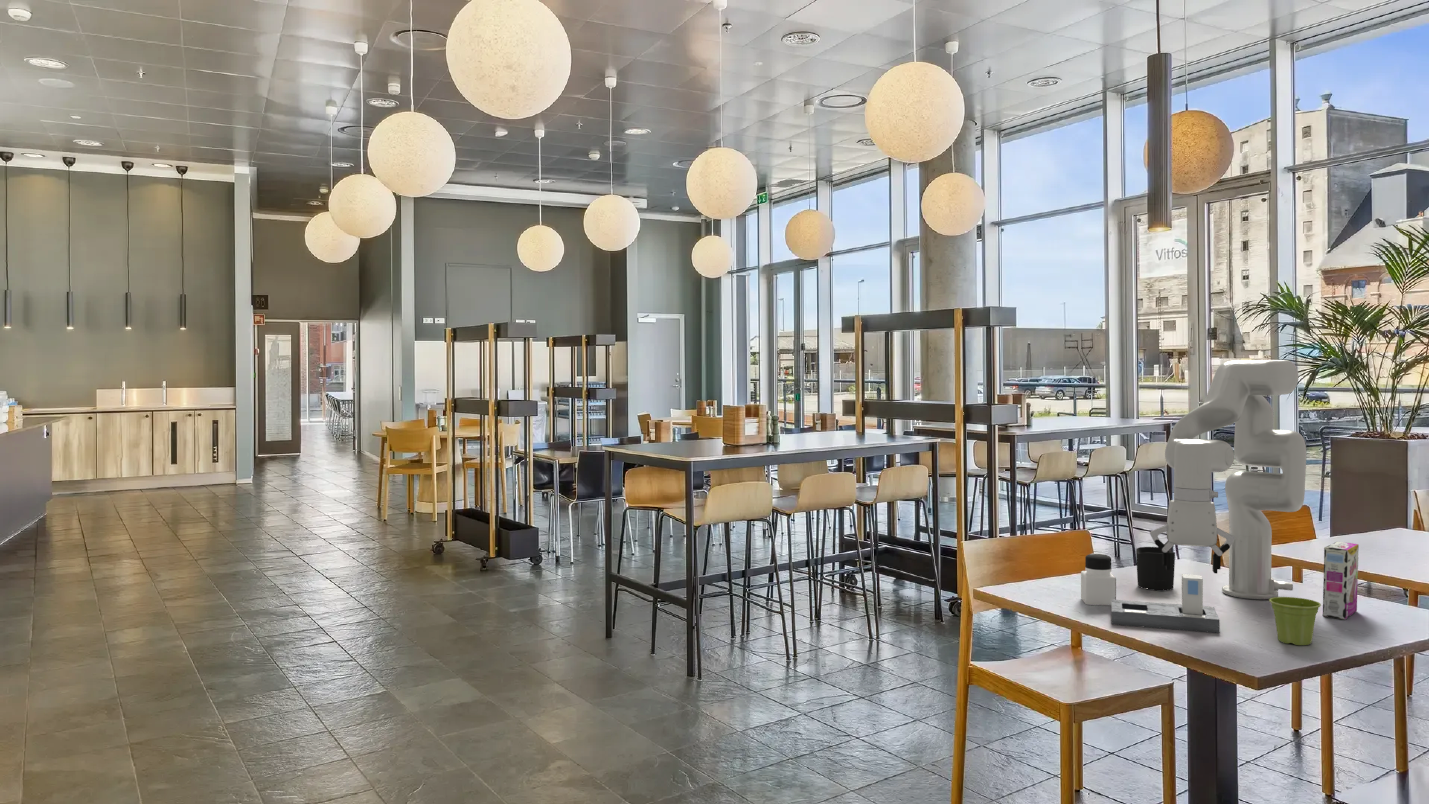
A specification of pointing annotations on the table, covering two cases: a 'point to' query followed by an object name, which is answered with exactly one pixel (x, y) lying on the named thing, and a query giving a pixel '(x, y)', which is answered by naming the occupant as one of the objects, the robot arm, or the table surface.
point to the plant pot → (1294, 619)
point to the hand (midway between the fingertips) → (1191, 570)
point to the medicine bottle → (1098, 580)
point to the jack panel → (1163, 616)
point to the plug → (1192, 594)
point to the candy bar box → (1340, 580)
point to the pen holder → (1154, 569)
